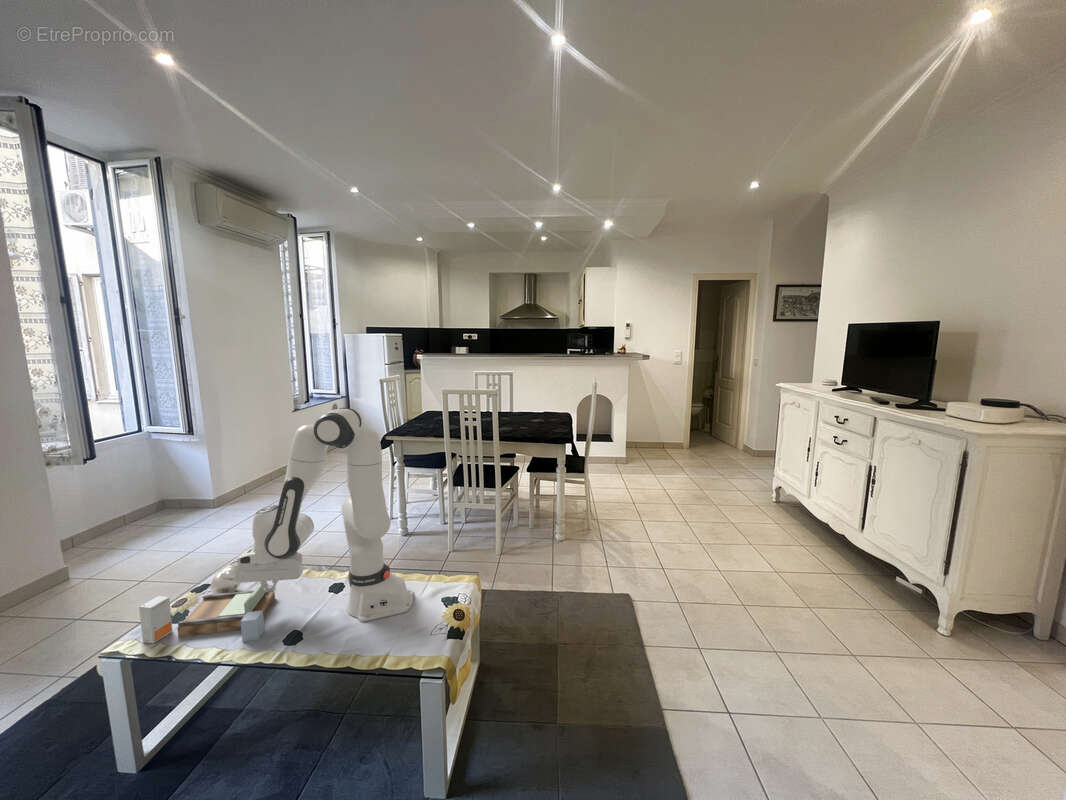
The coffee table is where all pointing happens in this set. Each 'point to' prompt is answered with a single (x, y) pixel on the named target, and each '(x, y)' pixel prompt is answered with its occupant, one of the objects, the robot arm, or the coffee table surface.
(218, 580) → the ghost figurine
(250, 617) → the block
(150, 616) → the skincare box
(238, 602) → the lid
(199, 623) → the wooden box frame
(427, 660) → the coffee table surface
